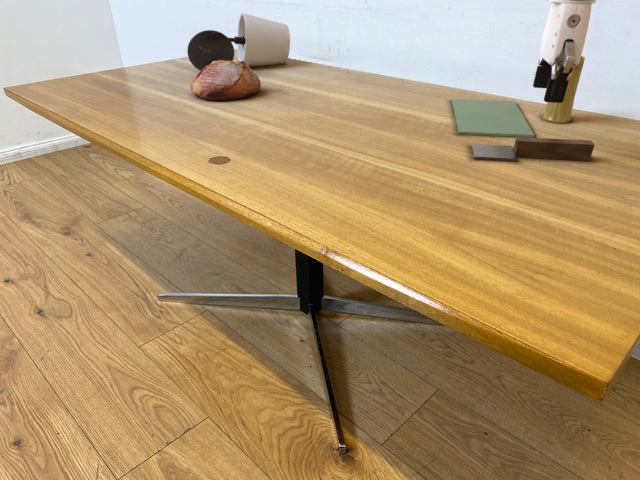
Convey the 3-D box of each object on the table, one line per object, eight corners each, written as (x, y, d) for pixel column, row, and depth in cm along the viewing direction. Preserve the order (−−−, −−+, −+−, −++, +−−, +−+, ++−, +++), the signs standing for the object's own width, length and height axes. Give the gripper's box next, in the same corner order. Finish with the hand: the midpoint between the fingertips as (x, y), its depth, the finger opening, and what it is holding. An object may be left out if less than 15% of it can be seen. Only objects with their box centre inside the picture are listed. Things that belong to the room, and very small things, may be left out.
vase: (573, 118, 116) (590, 56, 109) (565, 124, 112) (582, 60, 105) (547, 113, 120) (562, 52, 112) (538, 119, 116) (553, 57, 108)
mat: (514, 103, 127) (514, 101, 127) (534, 137, 106) (534, 135, 105) (452, 101, 130) (452, 99, 129) (458, 134, 108) (459, 131, 108)
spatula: (582, 152, 98) (587, 136, 96) (593, 166, 92) (598, 149, 90) (471, 146, 101) (473, 131, 100) (474, 159, 95) (476, 143, 94)
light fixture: (183, 46, 170) (277, 54, 180) (187, 75, 158) (287, 81, 169) (183, -3, 157) (284, 9, 168) (187, 25, 146) (295, 35, 157)
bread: (266, 101, 135) (264, 64, 129) (194, 108, 130) (189, 70, 124) (254, 83, 148) (252, 49, 142) (188, 89, 142) (183, 53, 137)
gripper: (614, -2, 73) (581, 109, 83) (582, -13, 88) (556, 83, 97) (562, -4, 74) (535, 107, 84) (539, -14, 89) (518, 81, 98)
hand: (546, 94), depth 90 cm, fingers open, 9 cm apart
